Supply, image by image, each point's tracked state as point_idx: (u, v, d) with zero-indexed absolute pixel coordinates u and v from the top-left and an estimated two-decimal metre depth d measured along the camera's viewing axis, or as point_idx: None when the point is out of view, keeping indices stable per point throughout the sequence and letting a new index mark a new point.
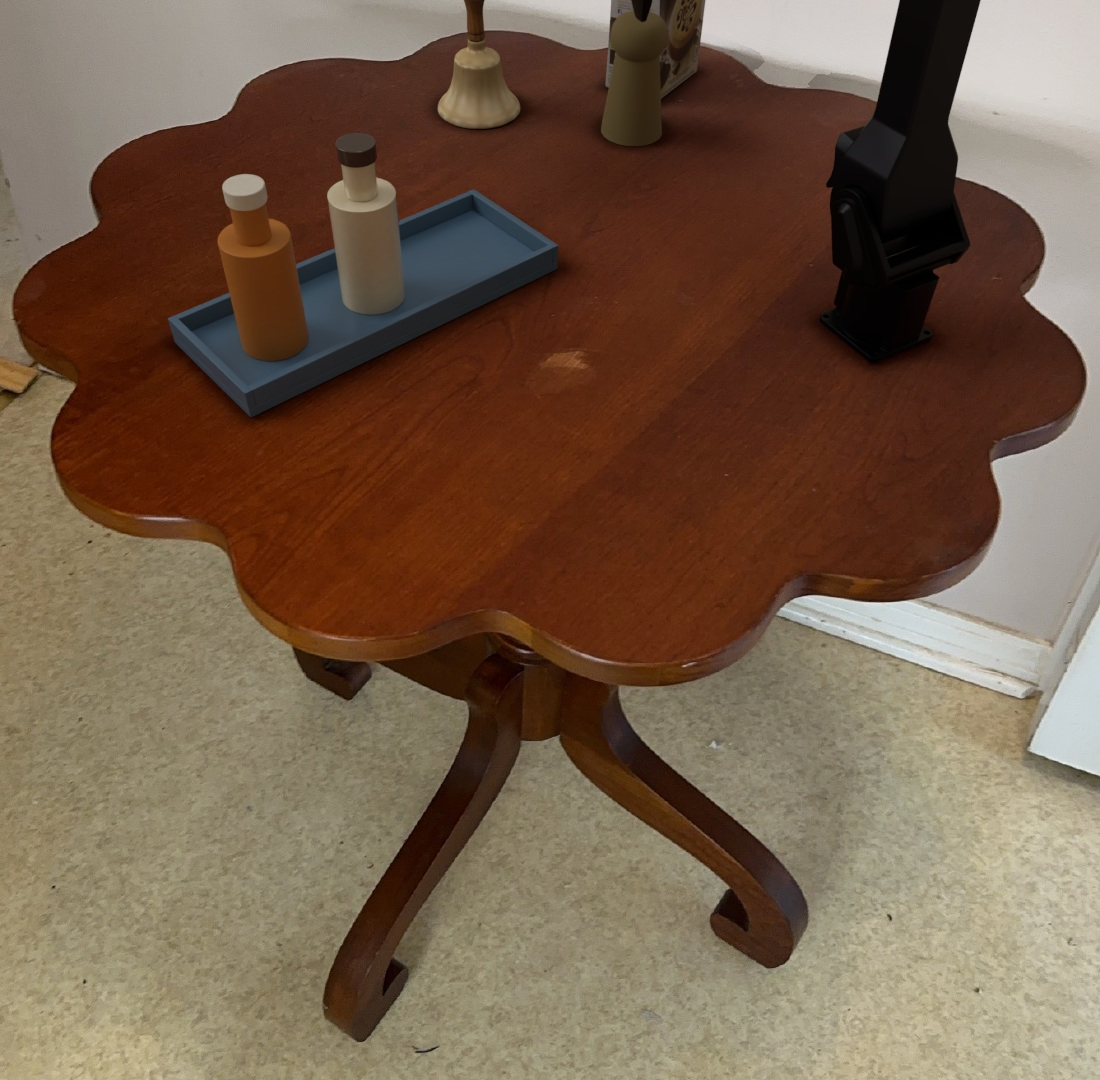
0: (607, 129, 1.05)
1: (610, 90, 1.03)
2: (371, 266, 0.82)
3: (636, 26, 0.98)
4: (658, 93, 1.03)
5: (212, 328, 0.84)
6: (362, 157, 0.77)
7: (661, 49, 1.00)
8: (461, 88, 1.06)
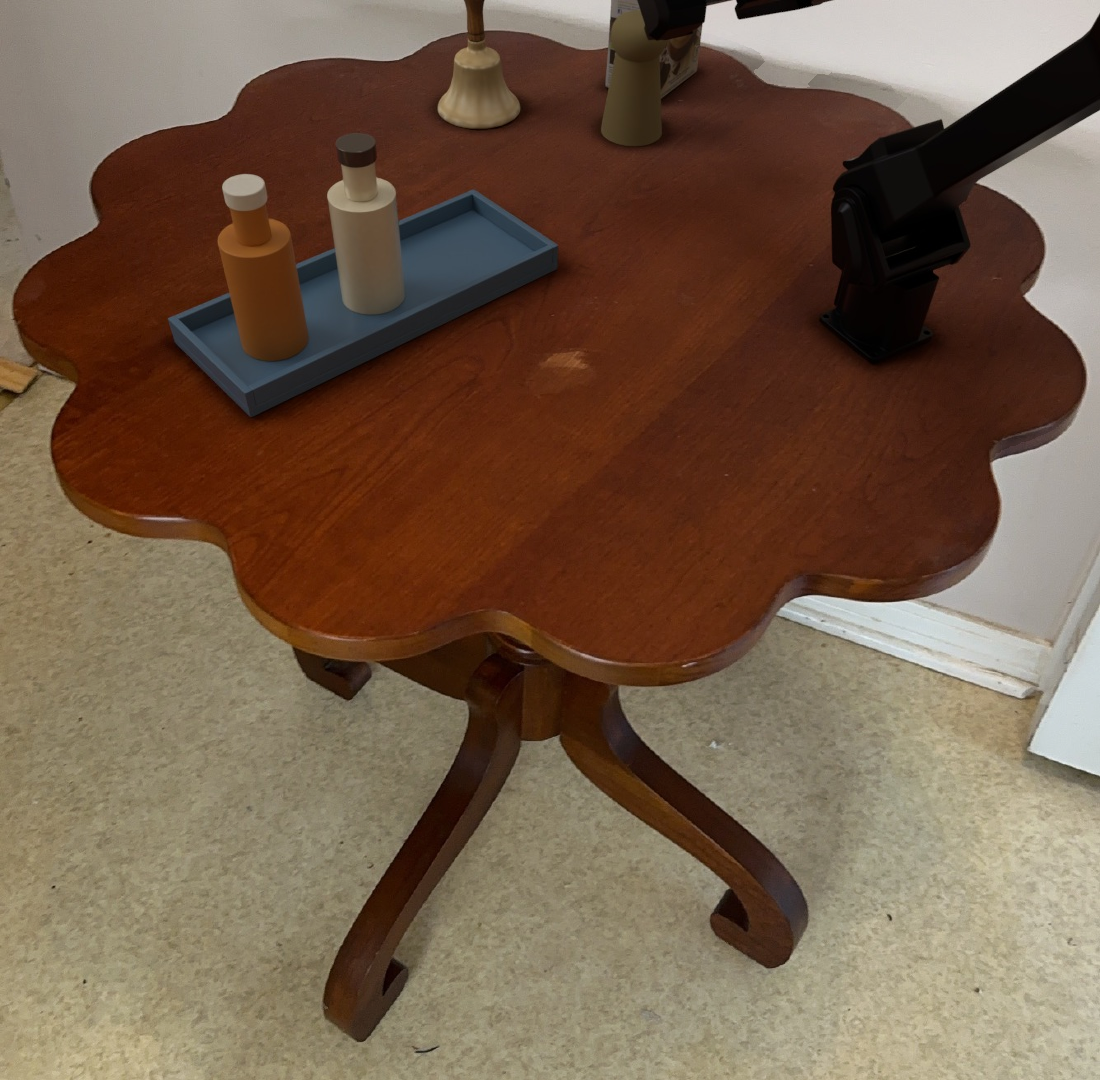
0: (607, 129, 1.05)
1: (610, 90, 1.03)
2: (371, 266, 0.82)
3: (636, 26, 0.98)
4: (658, 93, 1.03)
5: (212, 328, 0.84)
6: (362, 157, 0.77)
7: (661, 49, 1.00)
8: (461, 88, 1.06)
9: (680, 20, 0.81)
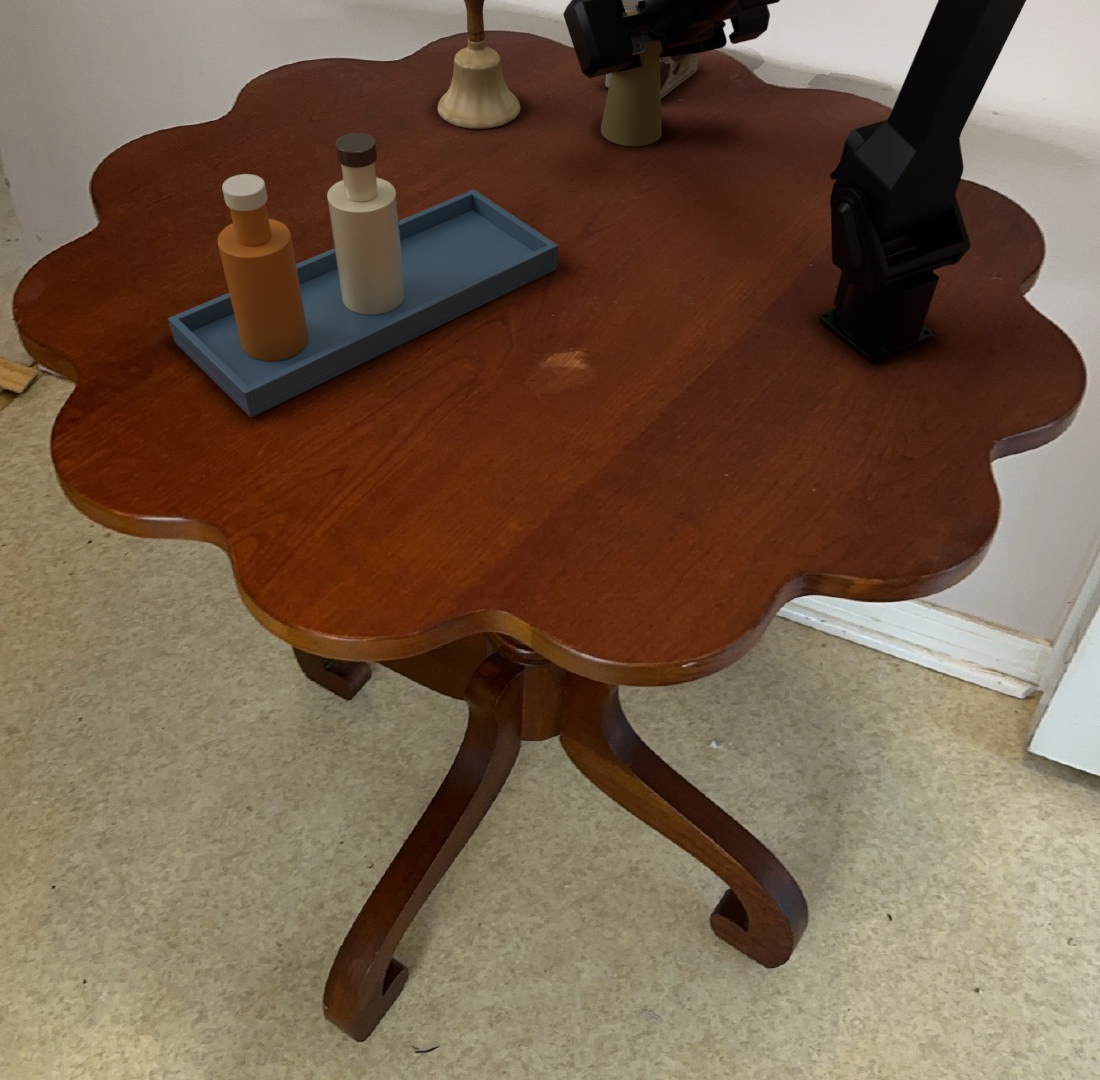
0: (607, 129, 1.05)
1: (610, 90, 1.03)
2: (371, 266, 0.82)
3: None
4: (658, 93, 1.03)
5: (212, 328, 0.84)
6: (362, 157, 0.77)
7: (661, 49, 1.00)
8: (461, 88, 1.06)
9: (609, 60, 0.92)
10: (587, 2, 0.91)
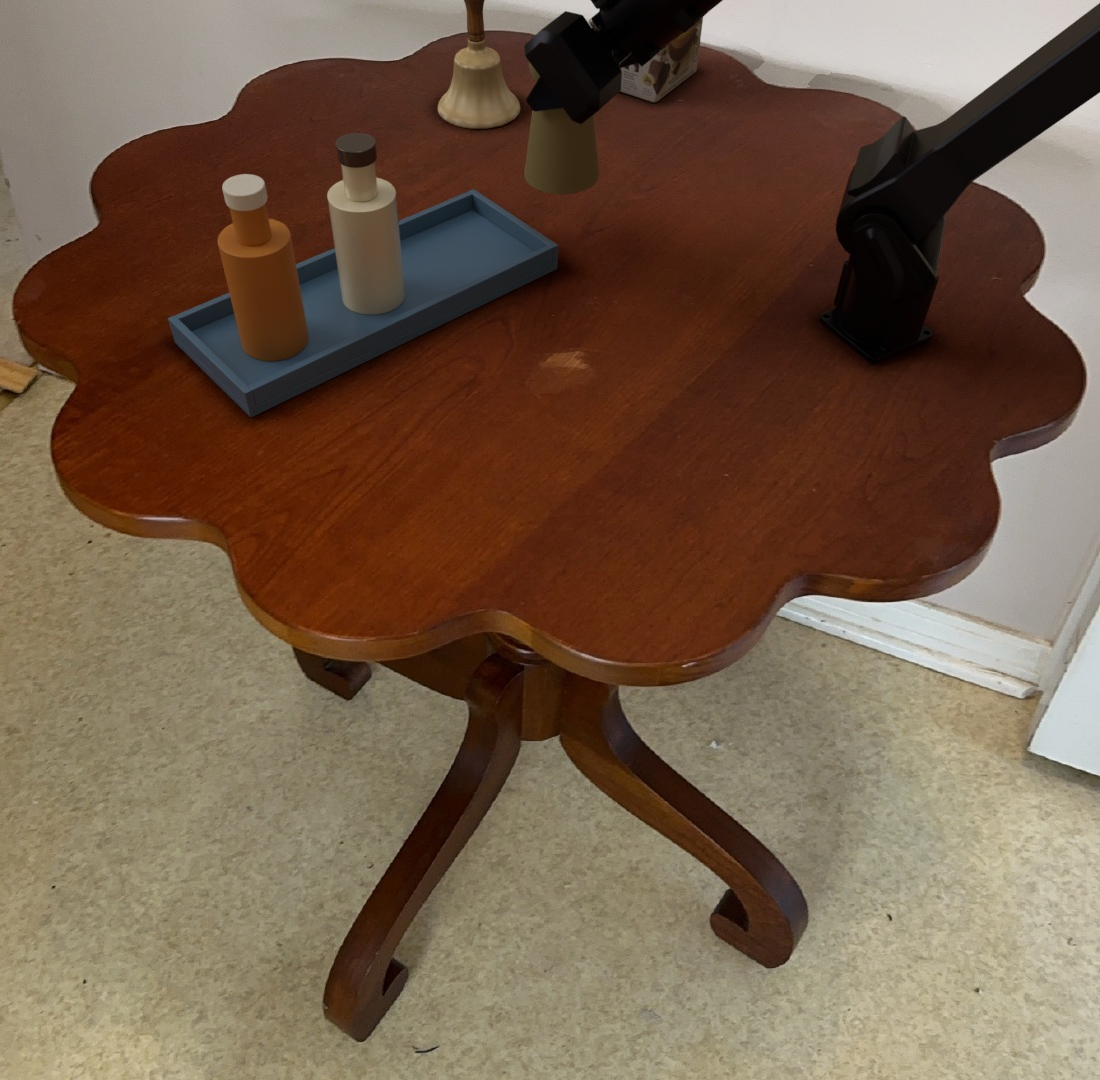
0: (545, 181, 0.85)
1: (541, 134, 0.83)
2: (371, 266, 0.82)
3: None
4: (593, 121, 0.85)
5: (212, 328, 0.84)
6: (362, 157, 0.77)
7: None
8: (461, 88, 1.06)
9: (606, 96, 0.73)
10: (562, 32, 0.70)
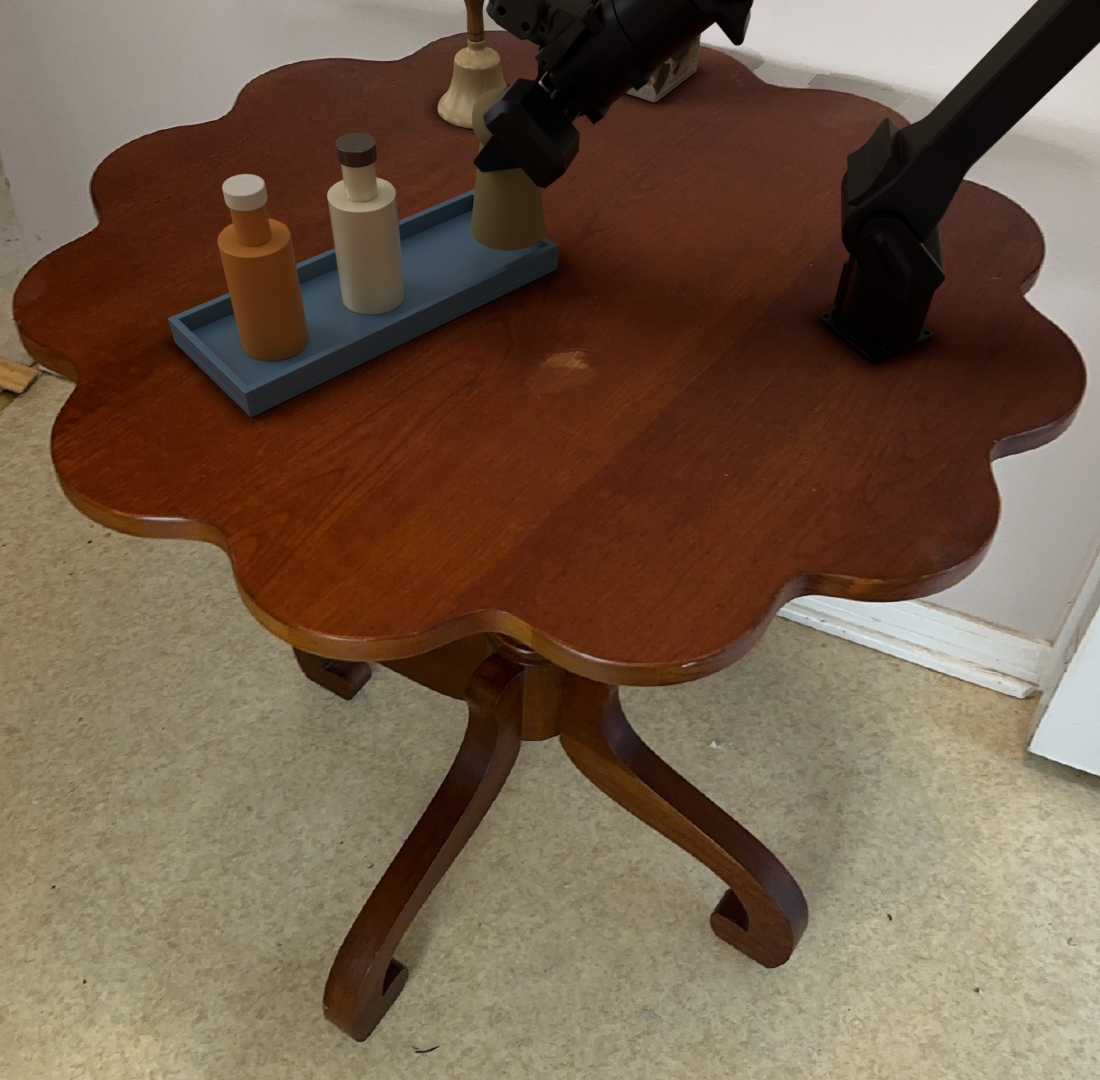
0: (496, 239, 0.85)
1: (489, 194, 0.83)
2: (371, 266, 0.82)
3: None
4: None
5: (212, 328, 0.84)
6: (362, 157, 0.77)
7: None
8: (461, 88, 1.06)
9: (568, 159, 0.73)
10: (522, 101, 0.70)
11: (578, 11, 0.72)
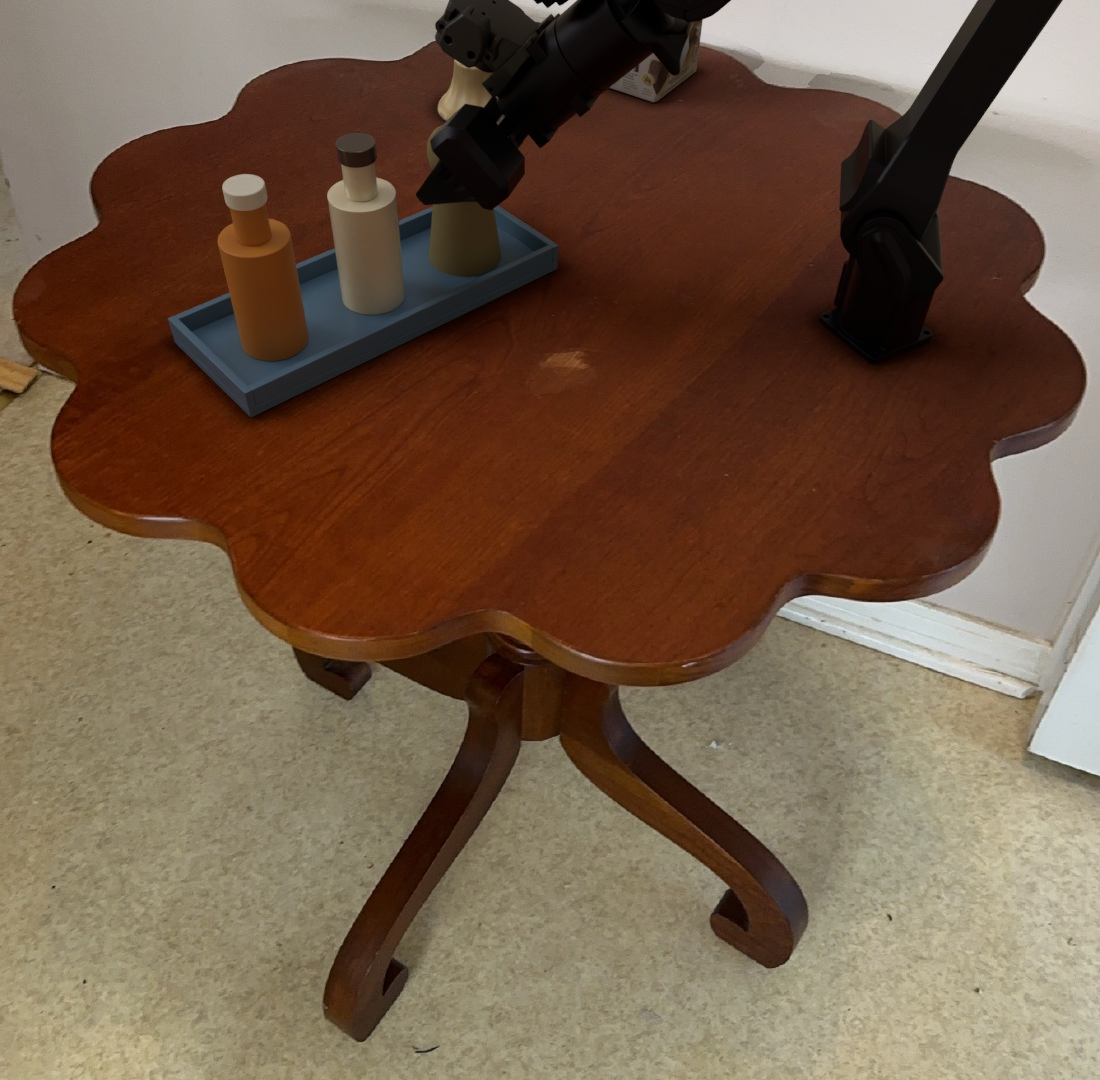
0: (453, 265, 0.88)
1: (445, 222, 0.86)
2: (371, 266, 0.82)
3: None
4: None
5: (212, 328, 0.84)
6: (362, 157, 0.77)
7: None
8: (461, 88, 1.06)
9: (513, 183, 0.75)
10: (467, 127, 0.73)
11: (523, 40, 0.75)
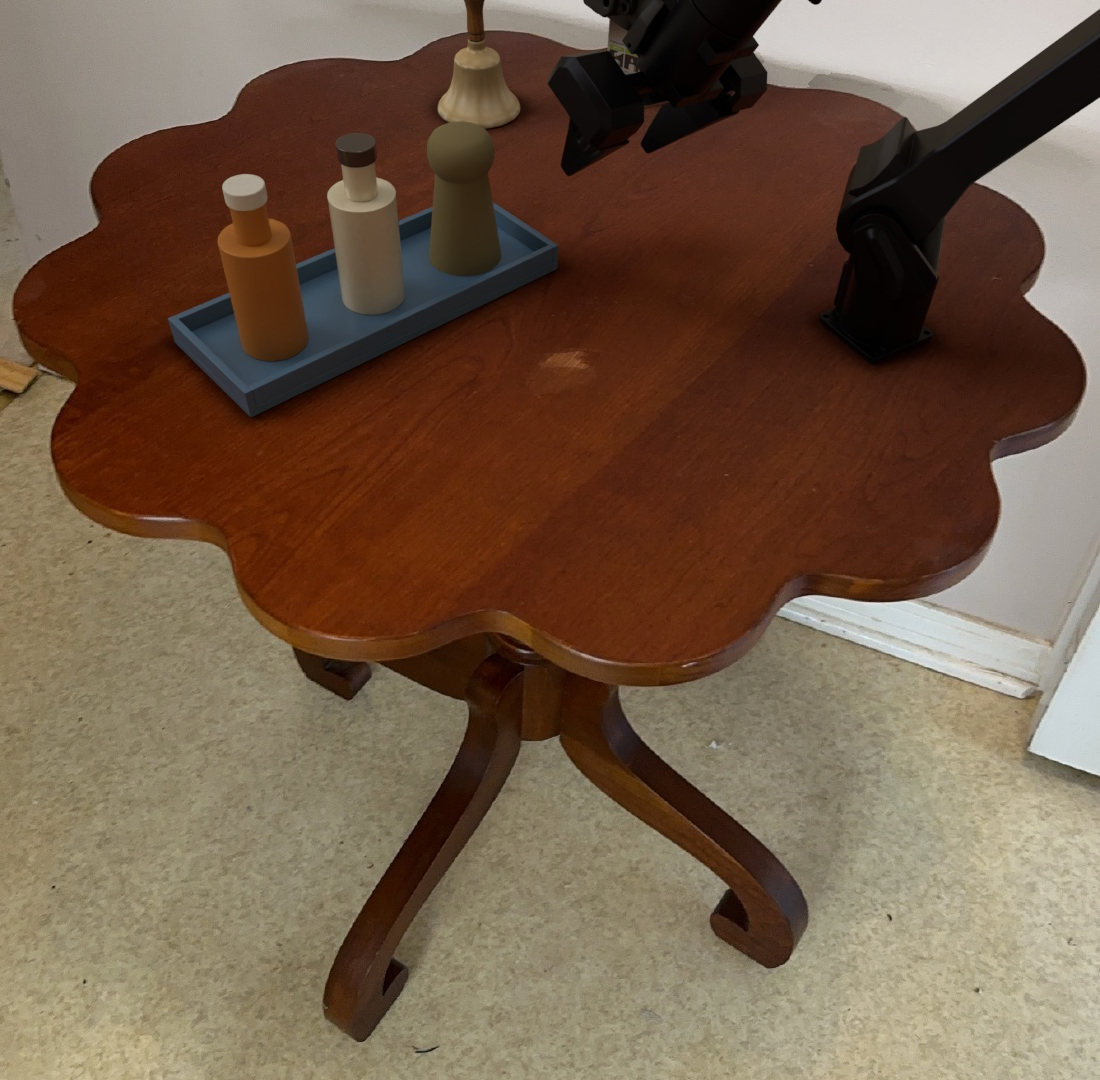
0: (453, 265, 0.88)
1: (445, 222, 0.86)
2: (371, 266, 0.82)
3: (469, 143, 0.82)
4: None
5: (212, 328, 0.84)
6: (362, 157, 0.77)
7: (493, 157, 0.85)
8: (461, 88, 1.06)
9: (622, 119, 0.73)
10: (580, 57, 0.73)
11: None
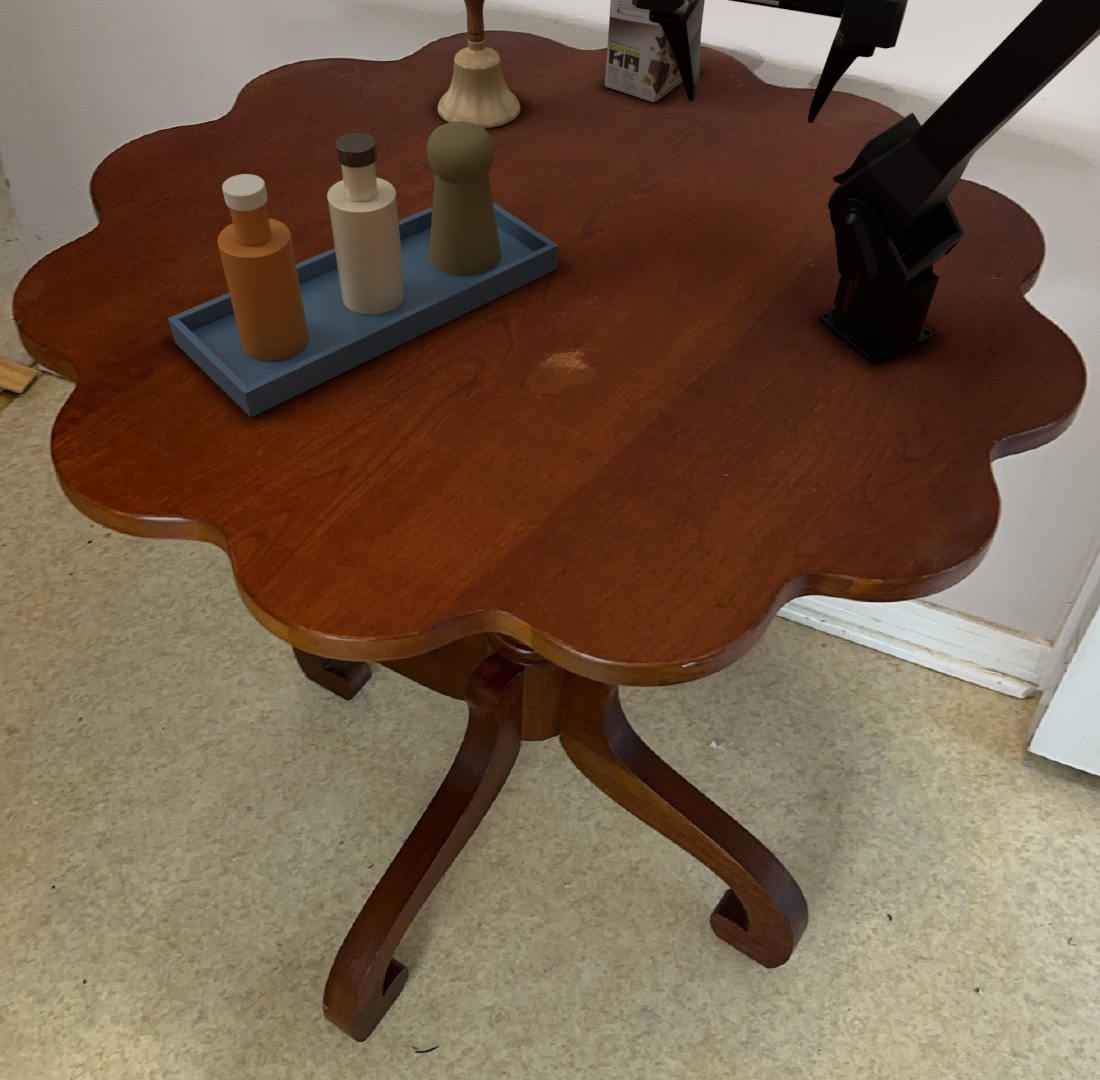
0: (453, 265, 0.88)
1: (445, 222, 0.86)
2: (371, 266, 0.82)
3: (469, 143, 0.82)
4: None
5: (212, 328, 0.84)
6: (362, 157, 0.77)
7: (493, 157, 0.85)
8: (461, 88, 1.06)
9: None
10: None
11: None
